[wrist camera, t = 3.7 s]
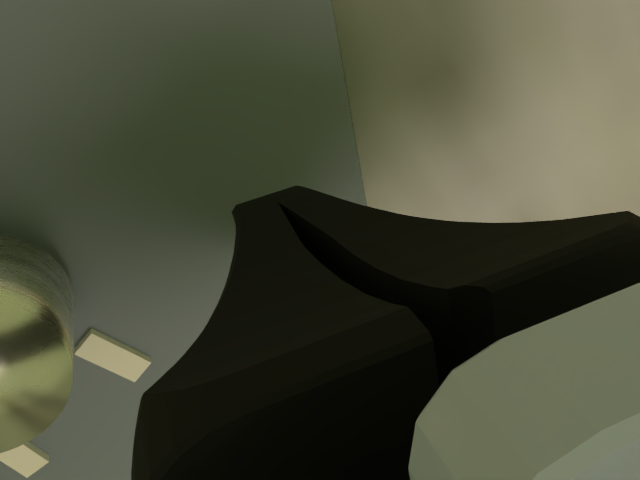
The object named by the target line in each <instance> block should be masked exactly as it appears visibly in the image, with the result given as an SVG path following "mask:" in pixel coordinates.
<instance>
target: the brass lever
mask: <svg viewBox="0 0 640 480" xmlns="http://www.w3.org/2000/svg"><path fill="white" fill-rule="evenodd" d="M73 342H74V293H73V288H72V285H71V282H70V280H69V278H68V276H67V274H66V272H65V271H64V269H63V268H62V267H61V265H60V264H59V263H58V262H57V261H56V260H55V259H54V258H53V257H52V256H51V255H50V254H48V253H47V252H46V251H44V250H43V249H41V248H40V247H38V246H36V245H34V244H32V243H30V242H28V241H26V240H23V239H20V238H17V237H14V236H10V235H6V234H0V453H3V452H6V451H9V450H11V449H14V448H16V447H19V446H21V445H23V444H25V443H27V442H29V441H30V440H32V439H33V438H35V437H36V436H38V435H40V434H41V433H42V432H43V431H44V430H46V429H47V428H48V427H49V426H50V425H51V424H52V423H53V422H54V421H55V420H56V419H57V417H58V416H59V415H60V413H61V412H62V410H63V409H64V407H65V405H66V403H67V401H68V398H69V395H70V393H71V388H72V382H73Z"/></svg>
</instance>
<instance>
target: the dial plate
mask: <svg viewBox="0 0 640 480" xmlns="http://www.w3.org/2000/svg"><path fill="white" fill-rule="evenodd" d="M296 185H297V186H302V187H306V188H309V189H313V190H316V191H319V192H322V193H325V194H328V195H331V196H334V197H337V198H340V199H343V200H347V201H350V202H353V203H357V204H360V205H364V206H367V205H366V199H365V193H364V187H363V182H362V176H361V170H360V164H359V158H358V152H357V147H356V141H355V135H354V129H353V123H352V117H351V112H350V106H349V100H348V94H347V88H346V82H345V77H344V71H343V65H342V59H341V53H340V47H339V42H338V36H337V30H336V24H335V18H334V13H333V7H332V1H331V0H0V234H6V235H10V236H14V237H17V238H20V239H23V240H26V241H28V242H30V243H32V244H34V245H36V246H38V247H40V248H41V249H43V250H44V251H46V252H47V253H48V254H50V255H51V256H52V257H53V258H54V259H55V260H56V261H57V262H58V263H59V264H60V265H61V267H62V268H63V269H64V271H65V272H66V274H67V276H68V278H69V280H70V282H71V285H72V288H73V293H74V342H73V382H72V388H71V393H70V395H69V398H68V401H67V403H66V405H65V407H64V409H63V410H62V412H61V413H60V415H59V416H58V417H57V419H56V420H55V421H54V422H53V423H52V424H51V425H50V426H49V427H48V428H47V429H46V430H44V431H43V432H42V433H41V434H40V435H38V436H36V437H35V438H33V439H32V440H30V441H29V442H27V443H25V444H23V445H21V446H19V447H16V448H14V449H11V450H9V451H6V452H3V453H0V480H131V468H132V454H133V444H134V435H135V428H136V422H137V416H138V410H139V405H140V400H141V397H142V395H143V393H144V392H145V391H146V390H148V389H149V388H150V387H151V386H152V385H153V384H154V383H155V382H156V381H158V380H159V379H160V378H161V377H162V376H163V375H164V374H165V373H166V372H167V371H168V370H169V369H170V368H171V367H172V366H173V365H174V364H175V363H176V362H177V361H178V360H179V359H180V358H181V357H182V356H183V355H184V354H185V353H186V351H187V350H188V349H189V348H190V347H191V345H192V344H193V343H194V342H195V340H196V339H197V338H198V336H199V335H200V334H201V332H202V331H203V330H204V328H205V326H206V325H207V323H208V321H209V319H210V317H211V315H212V313H213V311H214V310H215V308H216V306H217V304H218V301H219V299H220V297H221V294H222V292H223V289H224V287H225V284H226V281H227V278H228V274H229V270H230V266H231V262H232V258H233V253H234V245H235V236H236V225H235V222H234V218H233V215H232V211H233V209H234V207H235V206H236V205H237V204H240V203H243V202H246V201H249V200H253V199H256V198H259V197H262V196H265V195H268V194H271V193H274V192H277V191H280V190H283V189H287V188H290V187H293V186H296Z"/></svg>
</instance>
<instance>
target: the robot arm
mask: <svg viewBox="0 0 640 480" xmlns="http://www.w3.org/2000/svg"><path fill="white" fill-rule="evenodd" d="M232 215H233V218H234V222H235V225H236V236H235V245H234V253H233V258H232V262H231V266H230V270H229V274H228V278H227V281H226V284H225V287H224V289H223V292H222V294H221V297H220V299H219V301H218V304H217V306H216V308H215V310H214V311H213V313H212V315H211V317H210V319H209V321H208V323H207V325H206V326H205V328H204V330H203V331H202V332H201V334H200V335H199V336H198V338H197V339H196V340H195V342H194V343H193V344H192V345H191V347H190V348H189V349H188V350H187V351H186V353H185V354H184V355H183V356H182V357H181V358H180V359H179V360H178V361H177V362H176V363H175V364H174V365H173V366H172V367H171V368H170V369H169V370H168V371H167V372H166V373H165V374H164V375H163V376H162V377H161V378H160V379H159V380H158V381H156V382H155V383H154V384H153V385H152V386H151V387H150V388H149V389H148V390H146V391H145V392H144V393H143V395H142V397H141V400H140V405H139V410H138V416H137V422H136V428H135V435H134V444H133V454H132V468H131V480H640V217H639V216H637V215H635V214H633V213H631V212H629V211H624V212H616V213H609V214H601V215H594V216H587V217H579V218H572V219H564V220H553V221H537V222H521V223H477V222H455V221H443V220H435V219H427V218H420V217H413V216H407V215H401V214H397V213H392V212H388V211H383V210H379V209H375V208H371V207H367V206H364V205H360V204H357V203H353V202H350V201H347V200H343V199H340V198H337V197H334V196H331V195H328V194H325V193H322V192H319V191H316V190H313V189H309V188H306V187H302V186H297V185H296V186H293V187H290V188H287V189H283V190H280V191H277V192H274V193H271V194H268V195H265V196H262V197H259V198H256V199H253V200H249V201H246V202H243V203H240V204H237V205H236V206H235V207H234V209H233V211H232Z"/></svg>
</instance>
